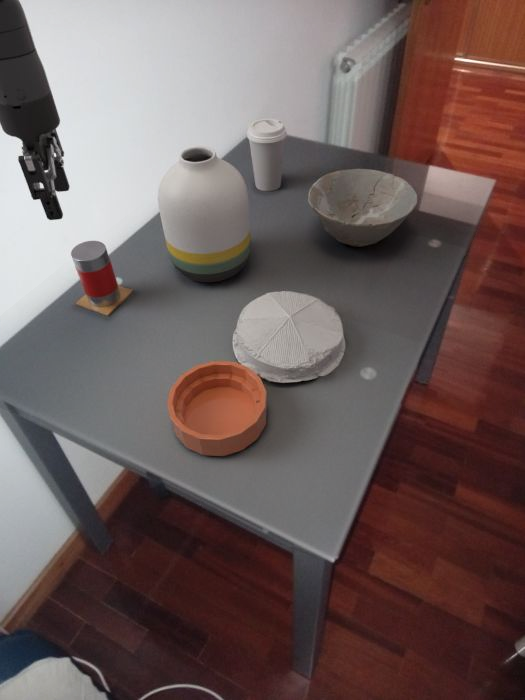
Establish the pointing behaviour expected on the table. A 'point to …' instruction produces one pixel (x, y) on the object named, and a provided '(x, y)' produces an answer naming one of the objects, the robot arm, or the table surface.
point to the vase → (205, 216)
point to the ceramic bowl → (361, 204)
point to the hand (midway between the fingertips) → (59, 203)
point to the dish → (218, 408)
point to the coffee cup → (267, 152)
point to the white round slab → (289, 337)
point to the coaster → (108, 309)
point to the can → (96, 273)
